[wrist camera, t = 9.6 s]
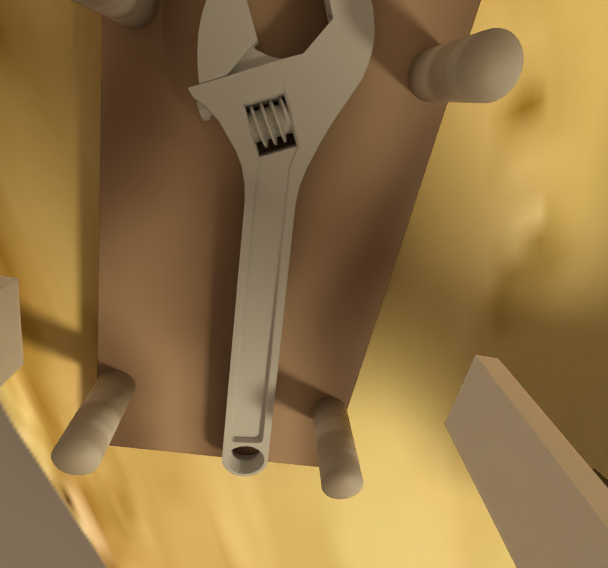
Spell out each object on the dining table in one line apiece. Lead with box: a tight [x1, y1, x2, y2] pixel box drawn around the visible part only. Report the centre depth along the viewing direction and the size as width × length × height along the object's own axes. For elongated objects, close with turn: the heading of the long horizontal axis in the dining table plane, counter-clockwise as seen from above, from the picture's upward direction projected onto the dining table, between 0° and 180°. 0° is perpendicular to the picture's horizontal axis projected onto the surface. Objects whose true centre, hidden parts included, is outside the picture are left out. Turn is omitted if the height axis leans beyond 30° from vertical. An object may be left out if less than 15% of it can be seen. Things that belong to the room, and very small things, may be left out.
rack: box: [51, 0, 523, 499], centre depth 18 cm, size 14×27×6 cm, turn 168°
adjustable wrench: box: [188, 0, 375, 476], centre depth 19 cm, size 25×6×2 cm, turn 168°
